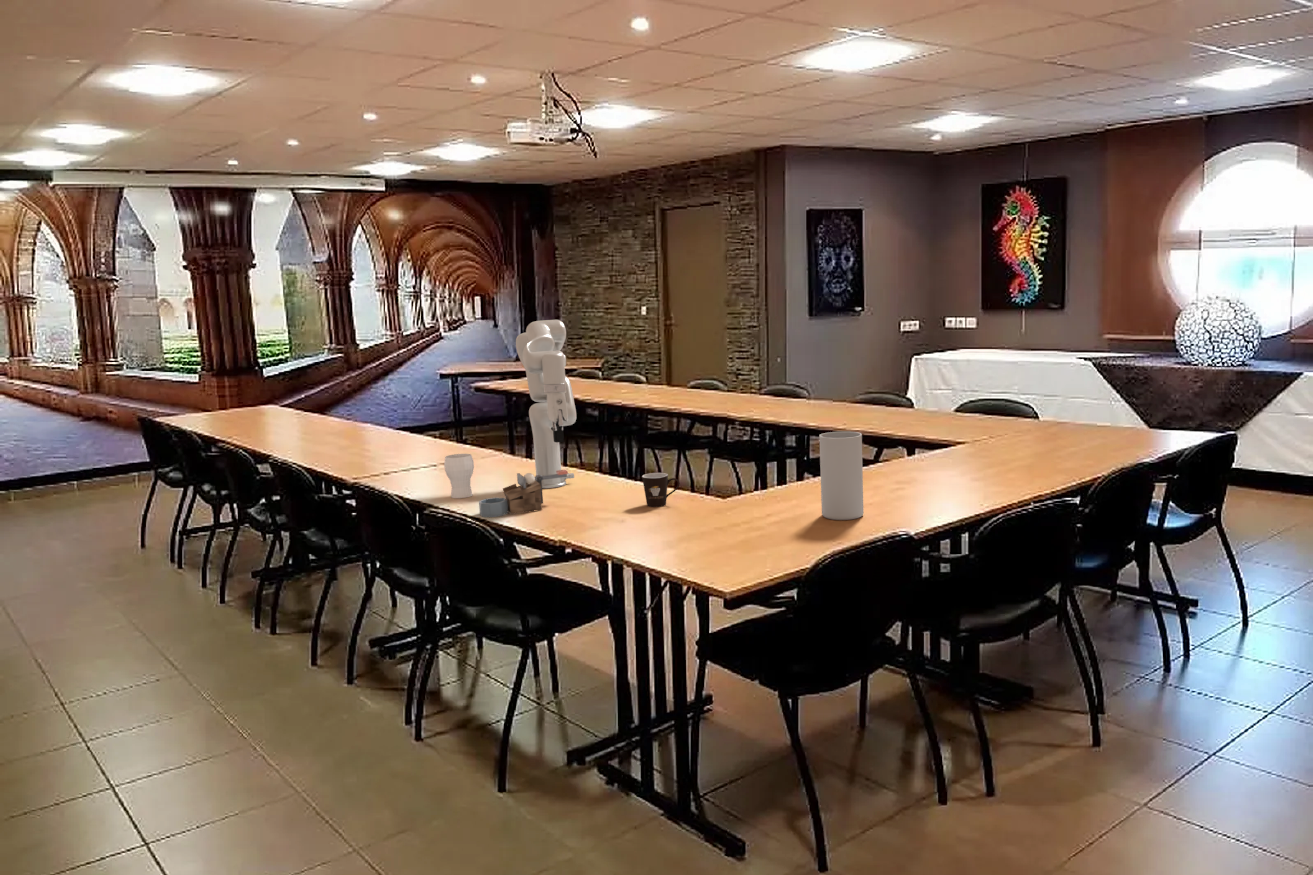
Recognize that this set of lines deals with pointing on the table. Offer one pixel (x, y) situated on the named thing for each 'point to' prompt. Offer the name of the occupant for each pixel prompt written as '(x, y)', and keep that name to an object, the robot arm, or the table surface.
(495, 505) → the pot
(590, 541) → the table surface
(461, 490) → the cup
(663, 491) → the coffee mug
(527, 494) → the cardboard box
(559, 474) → the lever
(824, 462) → the cylinder vase
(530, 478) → the ball
